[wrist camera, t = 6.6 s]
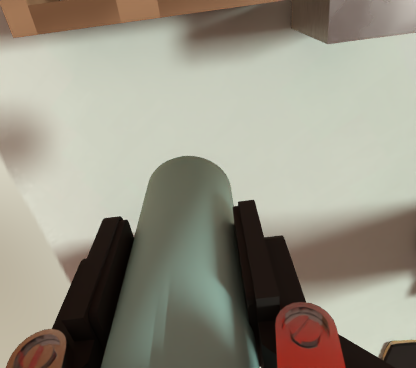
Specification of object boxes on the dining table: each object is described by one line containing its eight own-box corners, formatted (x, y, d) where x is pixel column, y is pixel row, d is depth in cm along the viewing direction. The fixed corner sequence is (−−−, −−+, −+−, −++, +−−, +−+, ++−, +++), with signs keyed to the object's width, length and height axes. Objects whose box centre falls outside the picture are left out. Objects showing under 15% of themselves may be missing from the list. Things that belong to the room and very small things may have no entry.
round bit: (234, 221, 15) (283, 538, 6) (157, 230, 15) (102, 551, 6) (226, 150, 13) (279, 463, 4) (138, 162, 13) (27, 484, 5)
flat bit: (360, 18, 23) (426, 31, 17) (291, 28, 24) (327, 44, 17) (364, -17, 22) (436, -20, 15) (291, -7, 23) (330, -5, 16)
